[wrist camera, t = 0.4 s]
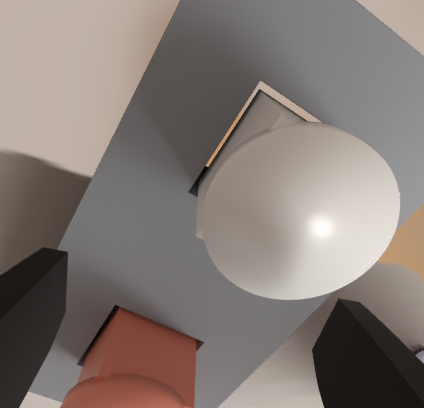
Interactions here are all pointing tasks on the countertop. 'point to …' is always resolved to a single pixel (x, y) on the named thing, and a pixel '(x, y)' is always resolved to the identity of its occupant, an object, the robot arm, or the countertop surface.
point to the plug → (294, 204)
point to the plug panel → (195, 168)
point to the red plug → (136, 367)
